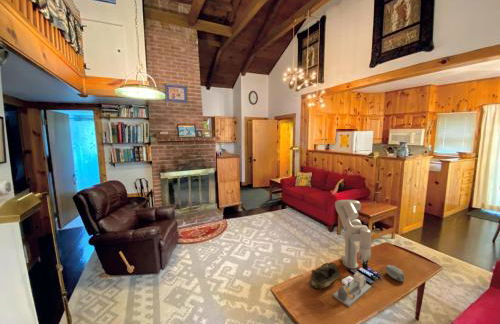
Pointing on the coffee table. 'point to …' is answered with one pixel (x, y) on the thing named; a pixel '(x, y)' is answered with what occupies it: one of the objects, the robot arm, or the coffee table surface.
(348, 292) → the pale green crossbeam
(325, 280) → the hollow geode rock
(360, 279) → the sleeve
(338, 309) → the coffee table surface
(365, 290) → the grey support base
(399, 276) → the streaked grey egg
